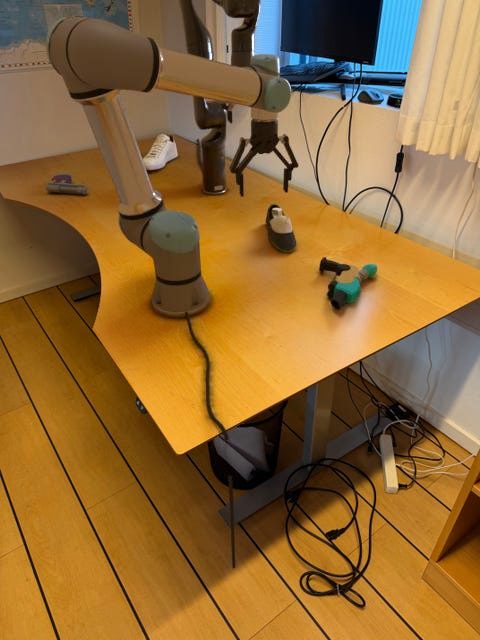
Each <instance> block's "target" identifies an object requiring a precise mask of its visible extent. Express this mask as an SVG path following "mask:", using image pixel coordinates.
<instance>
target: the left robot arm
mask: <svg viewBox="0 0 480 640" xmlns="http://www.w3.org/2000/svg"><path fill="white" fill-rule="evenodd" d="M45 53H46V57H47V60H48V61H49V64H50V65H51V67H52V68H53V69H54V70H55V72H56V73H57V74H58V75H59V76H61V77H62V80H63V82H64V85H65V87H66V89H67V91H68V94H69V96H70V99H71V100H72V101H74V102H77V103H78V104H80V105H81V107H82V110H83V112H84V114H85V117H86V119H87V121H88V124H89V127H90V129H91V132H92V135H93V136H94V139H95V141H96V144H97V147H98V149H99V151H100V154H101V156H102V158H103V159H102V160H103V161H104V164H105V166H106V169H107V171H108V173H109V176H110V179H111V181H112V183H113V186H114V188H115V191H116V193H117V195H118V196H117V197H118V198H119V202H118V204H117V207H116V210H117V212H118V226H119V229H120V231H121V234H123V236H124V237H125V238H126V240H127V241H128V242H129V243H131V244H132V245H134V246H136V247H137V248H139V249H140V250H141V251H143V252H144V253H145V254H146V255H147V256H149V257H150V258H152V260H153V261H152V262H153V268H154V274H155V275H154V276H155V281H154V284H153V290H152V294H151V305H152V308H153V310H154V311H155V312H156V313H157V314H159V315H160V316H163V317H167V318H171V319H183V318H185V319H186V322H187V325H188V330H189V333H190V334H189V335H190V337H191V338H192V341H194V343H195V344H196V345H197V346H198V348H199V350H201V352H202V353H203V356H204V358H205V361H206V362H205V363H206V367H205V368H206V369H205V402H206V409H207V412H208V415H209V418H210V419H211V420H212V422H214V424H215V425H216V426H217V427H218V428H219V430H220V431H221V432H222V434H223V438H224V440H225V441H229V440H230V437H229V434H228V431H227V430H226V428H225V426H224V425H223V424H222V422H220V421H219V420H218V419H217V417H216V416H215V415H214V413H213V409H212V406H211V400H210V399H211V398H210V394H211V393H210V373H211V362H210V357H209V353H208V352H207V350H206V349H205V347H204V346H203V345H202V344H201V342H199V340H198V339H197V337H196V335H195V334H194V331H193V326H192V322H191V319H190V317H194V316H196V315H199V314H201V313H202V312H204V311H205V310H207V308H208V307H209V306H210V303H211V292H210V290H209V288H208V286H207V284H206V281H205V278H204V277H203V275H202V262H201V261H202V259H201V247H200V246H201V243H200V240H201V236H200V230H199V226H198V222H197V220H196V218H194V217H193V216H192V215H190V214H189V213H187V212H184V211H178V210H174V209H173V210H171V209H170V210H167V208H166V204H165V202H164V199H163V196H162V193H161V192H160V191H157V190H156V189H154V188H153V186H152V185H153V184H152V182H151V180H150V177H149V173H148V170H146V168H145V165H144V162H143V157H142V153H141V150H140V148H139V145H138V142H137V138H136V136H135V133H134V131H133V127H132V125H131V121H130V119H129V115H128V113H127V110H126V107H125V105H124V101H123V99H122V95H121V91H122V90H124V91H133V92H141V93H147V94H148V93H151V92H152V91H153V90H154V89H155V90H160V91H166V92H171V93H176V94H181V95H185V96H186V95H187V96H192V97H193V96H196V97H201V98H206V100H211V101H214V100H216V101H217V102H218V103H221V104H223V103H226V105H228V104H229V103H233V104H236V105H238V106H243V107H248V108H250V117H251V118H250V119H251V120H250V137H249V138H244V137H243V136H241V137H240V138H239V145H238V147H237V150H236V152H235V154H234V156H233V159H232V160H231V163H230V165H229V168H228V169H229V172H230V173H231V174H235V183H236V185H237V186H239V195H240V197H241V198H243V197H244V196H245V195H244V194H245V193H244V192H245V191H244V190H245V189H244V187H245V186H244V183H245V182H244V173H243V172H244V170H245V169H246V168H247V166H248V165H249V164H250V162H251V161H252V160H253V159H254V157H256V156H257V155H264V154H267V155H270V154H271V153H274V154H275V155H276V157H277V158H278V159H279V160H280V161H281V162H282V164H283V165H284V166H285V167H284V168H283V181H282V182H283V183H282V184H283V185H282V186H283V187H282V190H283V191H284V193H285V194H286V193H287V194H288V193H289V181H292V179H293V178H292V177H293V171H294V169H298V168H299V166H300V165H299V163H298V160H297V158H296V157H295V154H294V152H293V149H292V147H291V145H290V137H289V136H288V135H287V134H285V133H284V134H282V135H279V120H278V118H279V113H281V112H283V111H285V110H286V108H287V107H288V106H289V104H290V101H291V99H292V98H291V97H292V87H291V85H290V82H289V80H287V79H286V78H284V77H281V71H280V68H281V67H280V58H279V57H278V55H275V54H271V53H261V54H260V53H259V54H255V55H254V56H252V57H251V63H250V66H247V67H237V66H233V65H231V64H229V63H225V62H221V61H218V60H215V59H214V60H210V59H206V58H203V57H199V56H195V55H191V54H187V52H183V51H180V50H177V49H171V48H168V47H164V46H161V45H159V44H158V42H157V40H155V38H152V37H149V36H145V35H143V34H139V33H136V32H134V31H131V30H128V29H126V28H124V27H122V26H119V25H118V24H115V23H112V22H110V21H108V20H105V19H100V18H91V17H85V16H82V15H76V14H75V15H71V16H64V17H61V18H59V19H57V20H56V21H55V22H54V23H53V24H52V25H51V26H50V28H49V30H48V32H47V35H46V38H45ZM279 143H281V144H282V145H283V146H284V149H285V151H286V154H287V155H288V158H289V160H290V162H291V163H289V162H288V160H287V159H286V158H285V156H284V155H283V154H282V153H281V151H280V150H278V148H277V146H278V144H279ZM249 144H250V145H251V147H250V148H249V150H248V152H247V154H246V155H245V156H244V157H243V158H242V156H243V154H244V152H245V149H246V148H247V147H248V145H249ZM241 159H242V160H241ZM240 161H241V162H240ZM227 480H228V495H229V516H230V545H231V566H232V569H235V568H236V566H237V565H236V542H235V541H236V540H235V539H236V538H235V508H234V507H235V506H234V488H233V487H234V485H233V475H227Z"/></svg>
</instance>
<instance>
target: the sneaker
mask: <svg viewBox="0 0 480 640" xmlns="http://www.w3.org/2000/svg"><path fill="white" fill-rule="evenodd" d="M178 156H179V155H178V149H177V144H176V140H175V136H174V135H173V134H164V133H161V134H158V135H157V137H156V139H155V140H154V142H153V143H152V146H151V148H150V150H149V151H148V153H147V154H146V155H145V156H144V157H142V159H143V162H144V165H145V168H146V171H156V170H160V169H162V168H164V167H165V166H166V164H167V163H168V162H170V161H172V160H175V159H176V158H177V157H178Z"/></svg>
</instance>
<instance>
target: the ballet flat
mask: <svg viewBox="0 0 480 640" xmlns="http://www.w3.org/2000/svg"><path fill="white" fill-rule="evenodd" d="M265 224H266V227H267V236H268V238H269V240H270V242H271V243H272V245H273V246H274V247H275V248H276V250H279V251H280V252H282V253H291V252H293V251H294V250H295V248H296V247H297V239H296V235H295V232H294V231H295V230H294V229H293V226H292V222H291V218H290V217H289V216H286V215H285V213H284V211H283V208H281V207H280V206H279V205H278V204H276V203H273V204H270V206H269V207H268V209H267V213H266V217H265Z"/></svg>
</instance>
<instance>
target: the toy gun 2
mask: <svg viewBox="0 0 480 640" xmlns="http://www.w3.org/2000/svg"><path fill="white" fill-rule="evenodd" d="M324 271H327V272H332V273H335V278H334V279H332V280H330V281H329V283H328V284H327V289H328V290H327V292H326V296H327V298H329V299H330V304H331V307H332V308H333V309H334V310H335V311H338V312H339V311H340V310H341V309H342V308H343V307H344V306H345V304H346V303H347V304H353V302H355V301H357V299H358V298H359V297H360V295H361V293H362V288H361V284H362V283H363V282H365V281H366V280H367V279H368V278H369V279H371V278H373V277H374V276H376V274H377V272H378V265H377V264H375V263H367V264H364V266H362V268H361V269H360V270H359V267H358V266H357V265H354V264H353V265H352V264H346V263H340V262H337V261H334V260H332V259H327V257H326V256H323V257H322V258H321V260H320V262H319V268H318V272H320V273H324Z"/></svg>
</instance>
